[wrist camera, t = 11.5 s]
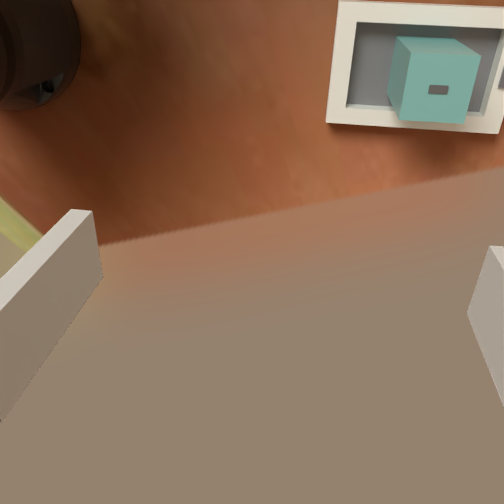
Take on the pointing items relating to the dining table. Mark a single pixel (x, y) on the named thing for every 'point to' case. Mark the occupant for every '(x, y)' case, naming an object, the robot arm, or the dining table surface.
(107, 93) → the dining table surface
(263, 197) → the dining table surface
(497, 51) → the white shallow tray
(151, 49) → the dining table surface
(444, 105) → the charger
